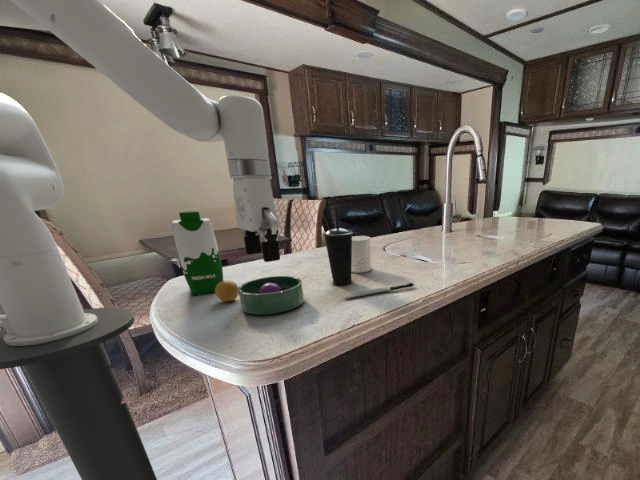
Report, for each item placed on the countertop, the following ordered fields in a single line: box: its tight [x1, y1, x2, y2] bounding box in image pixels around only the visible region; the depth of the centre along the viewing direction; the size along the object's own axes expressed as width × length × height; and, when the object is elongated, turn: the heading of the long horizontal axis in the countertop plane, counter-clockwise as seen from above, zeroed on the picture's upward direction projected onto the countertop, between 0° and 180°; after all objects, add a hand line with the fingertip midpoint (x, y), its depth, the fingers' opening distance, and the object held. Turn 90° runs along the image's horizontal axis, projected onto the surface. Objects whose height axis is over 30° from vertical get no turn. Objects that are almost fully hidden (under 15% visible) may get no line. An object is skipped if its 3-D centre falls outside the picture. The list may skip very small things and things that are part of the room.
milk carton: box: [171, 210, 224, 297], centre depth 80 cm, size 9×9×20 cm
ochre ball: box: [214, 279, 239, 303], centre depth 74 cm, size 5×5×5 cm
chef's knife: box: [343, 282, 415, 300], centre depth 79 cm, size 19×1×3 cm
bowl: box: [238, 275, 305, 316], centre depth 71 cm, size 13×13×5 cm
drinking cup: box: [322, 207, 354, 286], centre depth 83 cm, size 8×8×20 cm
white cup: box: [351, 235, 372, 274], centre depth 97 cm, size 8×8×10 cm
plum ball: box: [259, 283, 282, 294], centre depth 70 cm, size 5×5×5 cm
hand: (262, 256), depth 68 cm, fingers open, 9 cm apart
